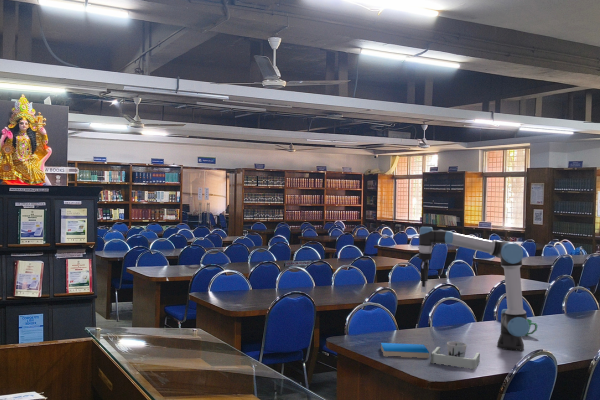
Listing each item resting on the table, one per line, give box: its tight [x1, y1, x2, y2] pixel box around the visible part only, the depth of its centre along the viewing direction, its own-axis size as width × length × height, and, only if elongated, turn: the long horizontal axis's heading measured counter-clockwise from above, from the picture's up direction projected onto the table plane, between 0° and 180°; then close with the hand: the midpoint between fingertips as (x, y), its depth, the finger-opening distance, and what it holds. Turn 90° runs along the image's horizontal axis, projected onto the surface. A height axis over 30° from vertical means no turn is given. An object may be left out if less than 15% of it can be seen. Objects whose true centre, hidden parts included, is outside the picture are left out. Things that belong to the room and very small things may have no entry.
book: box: [380, 342, 430, 359], centre depth 315 cm, size 17×4×25 cm
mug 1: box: [446, 340, 468, 358], centre depth 302 cm, size 10×15×10 cm
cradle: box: [430, 346, 481, 370], centre depth 300 cm, size 23×17×5 cm
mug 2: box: [523, 318, 538, 337], centre depth 369 cm, size 15×10×10 cm
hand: (423, 292), depth 330 cm, fingers closed
